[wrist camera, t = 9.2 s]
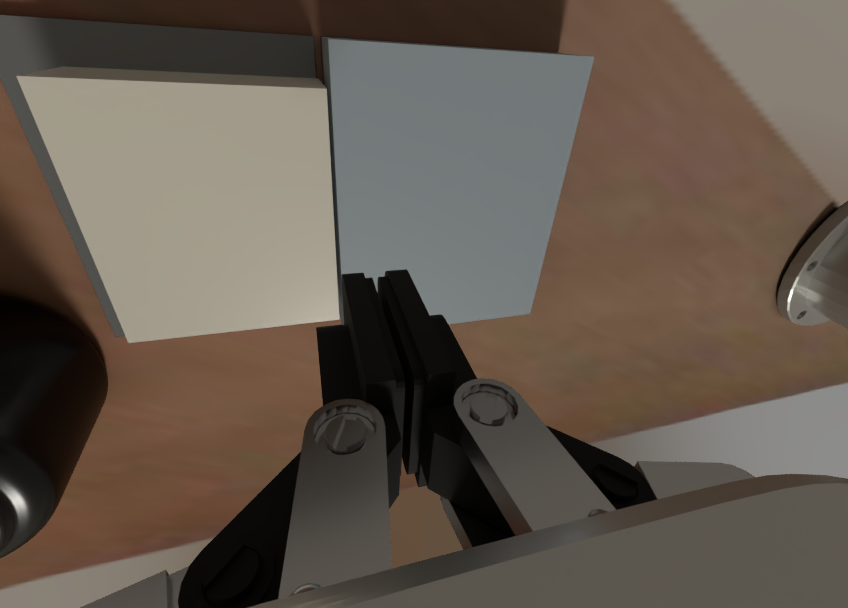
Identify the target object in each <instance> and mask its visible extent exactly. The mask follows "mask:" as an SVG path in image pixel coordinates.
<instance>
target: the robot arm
mask: <svg viewBox="0 0 848 608" xmlns="http://www.w3.org/2000/svg"><path fill="white" fill-rule="evenodd" d="M342 296H343V314H344V325H335V326H325V327H316V330H317V341H318V352H319V364H320V375H321V386H322V398H323V406H322V407H321V408H319V409H318V410H317V411H315V412H314V413H313V415H312V416H311V417H310V418H309V420H308V422H307V425H306V427H305V430H304V437H303V443H302V449H301V452H300V453H299V454H298V455H297V456H296V457H295V458H294V459H293V460H292V461H291V462H290V463H289V464H288V465H287V466H286V467H285V468H284V469H283V470H282V471H281V472H280V473H279V474H278V475H277V476H276V477H275V478H274V479H273V480H272V481H271V482H270V483H269V484H268V485H267V486H266V487H265V488H264V489H263V490H262V491H261V492H260V493H259V494H258V495H257V496H256V497H255V498H254V499H253V500H252V501H251V502H250V503H249V504H248V505H247V506H246V507H245V508H244V509H243V510H242V511H241V512H240V513H239V514H238V515H237V516H236V517H235V518H234V519H233V520H232V521H231V522H230V523H229V524H228V525H227V526H226V527H225V528H224V529H223V530H222V531H221V532H220V533H219V534H218V535H217V536H216V537H215V538H214V539H213V540H212V541H211V542H210V543H209V544H208V545H207V546H206V547H205V548H204V549H203V550H202V551H201V552H200V553H199V555H198V556H197V557H196V558H195V560H194V561H193V562H192V563H191V565H190V566H188V567H186V568H184V569H182V570H180V571H177V572H175V573H173V574H171V575H169V574H168V573H167V571H166V570H164V571H162V572H160V573H158V574H155V575H153V576H151V577H149V578H146V579H144V580H142V581H140V582H137V583H135V584H133V585H130V586H128V587H126V588H124V589H122V590H119V591H117V592H115V593H112V594H110V595H108V596H106V597H103V598H101V599H99V600H96V601H94V602H92V603H90V604H87V605H85V606H83V607H81V608H848V479H846V478H839V477H833V476H827V475H808V474H784V475H768V476H762V477H754V476H752V475H751V474H750V473H748V472H747V471H745V470H742V469H740V468H738V467H736V466H733V465H729V464H724V463H699V462H648V461H638V462H637V463H636V465H635V466H632V465H631V464H629V463H628V462H626V461H624V460H622V459H621V458H619V457H617V456H614V455H612V454H610V453H607V452H605V451H603V450H600V449H598V448H596V447H594V446H591V445H589V444H587V443H585V442H582V441H580V440H578V439H576V438H573V437H571V436H569V435H567V434H564V433H562V432H560V431H557V430H555V429H553V428H551V427H548V426H546V425H545V424H544V423H543V422H542V421H541V419H540V418H539V417H538V416H537V415H536V414H535V412H534V411H533V410H532V409H531V408H530V406H529V405H528V404H527V403H526V402H525V400H524V399H523V398H522V397H521V396H520V394H518V393H517V392H516V391H515V390H514V389H513V388H512V387H510V386H508V385H506V384H505V383H503V382H500V381H496V380H493V379H483V378H481V379H477V378H476V376H475V374H474V372H473V370H472V368H471V366H470V364H469V363H468V361H467V359H466V357H465V355H464V353H463V351H462V349H461V348H460V346H459V344H458V342H457V340H456V338H455V336H454V334H453V332H452V331H451V329H450V327H449V325H448V323H447V321H446V319H445V318H444V316H443V315H441V314H439V315H429V313H428V311H427V309H426V307H425V305H424V303H423V301H422V299H421V297H420V295H419V293H418V291H417V288H416V286H415V284H414V282H413V280H412V278H411V276H410V274H409V272H408V270H407V269H404V270H391V271H386V272H385V276H384V277H378V293H377V290H376V287H375V284H374V281H373V278H372V277H371V278H365V276H364V273H350V274H342ZM777 303H778V310H779V311H780V313H781V315H782V316H784V317H785V318H786V319H788V320H790V321H791V322H793V323H795V324H798V325H800V326H811V325H817V324H821V323H824V322H827V321H830V320H832V321H834V322H836V323H838V324H840V325H842V326H844V327H845V328H847V329H848V201H847V202H846V203H844V204H843V205H842V206H840V207H839V208H838V209H837V210H836V211H835V212H834V213H832V214H831V215H830V216H829V217H828V218H827V219H826V220H825V221H824V222H823V223H822V224H821V225H820V226H819V227H818V228H817V229H816V230H815V231H814V232H813V233H812V234H811V236H810V237H809V238H808V239H807V241H806V242H805V243H804V244H803V246H802V247H801V248H800V249H799V251H798V252H797V254H796V255H795V257H794V258H793V260H792V261H791V263H790V265H789V266H788V268H787V270H786V272H785V274H784V276H783V278H782V281H781V284H780V287H779V290H778V297H777ZM402 459H403V463H404V467H405V470H406V473H407V474H413V473H415V477H416V481H417V484H418V487H422V486H426V485H427V487H428V489H430V490H432V491H433V492H435V493H437V494H439V495H440V500H441V503H442V506H443V509H444V511H445V513H446V515H447V517H448V519H449V521H450V524H451V526H452V528H453V530H454V531H455V534H456V536H457V538H458V540H459V542H460V544H461V546H462V548H463V550H461V551H457V552H453V553H450V554H446V555H442V556H438V557H434V558H430V559H427V560H423V561H419V562H415V563H412V564H408V565H405V566H400V567H397V568H393V569H392V560H391V540H390V519H389V509H390V507H391V506H392V504H393V503H394V501H395V500H396V498H397V497H398V495H399V482H400V476H401V462H402Z"/></svg>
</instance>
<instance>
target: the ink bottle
mask: <svg viewBox="0 0 848 608" xmlns="http://www.w3.org/2000/svg"><path fill="white" fill-rule="evenodd" d="M107 390H108V377H107V372H106V368H105V365H104V363H103V360H102V358H101V356H100V355H99V353H98V351H97V350H96V348H95V347H94V346H93V344H92V343H91V342H90V341H89V340H88V339H87V337H86V336H85V335H84V334H83V333H81V332H80V331H79V330H78V329H77V328H76V327H74V326H73V325H72V324H71V323H69V322H68V321H66V320H65V319H63V318H62V317H60V316H58V315H56V314H55V313H53V312H51V311H49V310H47V309H44V308H42V307H40V306H37V305H34V304H32V303H29V302H26V301H23V300H19V299H16V298H12V297H8V296H4V295H0V558H2V557H4V556H6V555H8V554H10V553H11V552H13V551H15V550H16V549H18V548H20V547H21V546H23V545H24V544H25V543H27V542H28V541H29V540H31V539H32V538H33V537H34V536H35V535H36V534H37V533H38V532H39V531H40V530H41V529H42V528H43V527H44V526H45V525H46V523H47V522H48V521H49V519H50V518H51V516H52V515H53V513H54V512H55V510H56V508H57V506H58V504H59V502H60V500H61V498H62V495H63V493H64V491H65V489H66V487H67V484H68V482H69V480H70V478H71V475H72V473H73V471H74V469H75V467H76V464H77V462H78V460H79V458H80V455H81V453H82V451H83V449H84V447H85V444H86V442H87V440H88V438H89V436H90V433H91V431H92V429H93V427H94V424H95V422H96V420H97V418H98V416H99V413H100V411H101V409H102V407H103V404H104V402H105V399H106V395H107Z"/></svg>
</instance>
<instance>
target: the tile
mask: <svg viewBox="0 0 848 608" xmlns="http://www.w3.org/2000/svg"><path fill="white" fill-rule="evenodd" d="M16 77H17V79H18V81H19V84H20V86H21V89H22V91H23V93H24V96H25V98H26V100H27V103H28V105H29V108H30V110H31V112H32V115H33V117H34V119H35V122H36V124H37V127H38V129H39V131H40V134H41V136H42V139H43V141H44V143H45V146H46V148H47V150H48V153H49V155H50V158H51V160H52V162H53V165H54V167H55V169H56V172H57V174H58V177H59V179H60V181H61V184H62V186H63V189H64V191H65V193H66V196H67V198H68V200H69V203H70V205H71V208H72V210H73V212H74V215H75V217H76V219H77V222H78V224H79V227H80V229H81V231H82V234H83V236H84V239H85V241H86V243H87V246H88V248H89V250H90V253H91V255H92V258H93V260H94V262H95V265H96V267H97V269H98V272H99V274H100V277H101V279H102V281H103V284H104V286H105V289H106V291H107V293H108V296H109V298H110V300H111V303H112V305H113V308H114V310H115V312H116V315H117V317H118V319H119V322H120V324H121V327H122V329H123V331H124V334H125V336H126V339H127V341H128V343H134V342H143V341H151V340H160V339H169V338H178V337H187V336H196V335H205V334H214V333H223V332H232V331H241V330H249V329H258V328H267V327H276V326H285V325H294V324H303V323H312V322H321V321H330V320H339V302H338V284H337V266H336V247H335V229H334V211H333V193H332V175H331V157H330V139H329V121H328V103H327V88H326V87H325V86H324V85H323V83H322V82H321V81H320V79H317V78H296V77H275V76H254V75H233V74H212V73H191V72H170V71H149V70H129V69H108V68H87V67H66V66H62V67H57V68H53V69H48V70H43V71H38V72H33V73H28V74H23V75H18V76H16Z"/></svg>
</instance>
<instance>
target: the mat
mask: <svg viewBox="0 0 848 608" xmlns="http://www.w3.org/2000/svg"><path fill="white" fill-rule="evenodd" d="M62 66H66V67H87V68H108V69H129V70H149V71H170V72H191V73H212V74H233V75H254V76H275V77H296V78H316V66H315V53H314V39H313V36H303V35H289V34H274V33H260V32H245V31H230V30H216V29H201V28H187V27H172V26H158V25H143V24H128V23H114V22H99V21H85V20H70V19H55V18H41V17H26V16H12V15H0V79H1V81H2V83H3V85H4V88H5V90H6V92H7V94H8V97H9V99H10V101H11V103H12V105H13V108H14V110H15V112H16V114H17V117H18V119H19V121H20V123H21V126H22V128H23V130H24V132H25V135H26V137H27V139H28V141H29V144H30V146H31V148H32V150H33V153H34V155H35V157H36V159H37V162H38V164H39V166H40V168H41V170H42V173H43V175H44V177H45V179H46V182H47V184H48V186H49V188H50V191H51V193H52V195H53V197H54V200H55V202H56V204H57V206H58V209H59V211H60V213H61V215H62V218H63V220H64V222H65V224H66V226H67V229H68V231H69V233H70V235H71V238H72V240H73V242H74V244H75V247H76V249H77V251H78V253H79V256H80V258H81V260H82V262H83V265H84V267H85V269H86V271H87V274H88V276H89V278H90V280H91V283H92V285H93V287H94V289H95V291H96V294H97V296H98V298H99V300H100V303H101V305H102V307H103V309H104V312H105V314H106V316H107V318H108V321H109V323H110V325H111V327H112V330H113V332H114V334H115V336H116V337H120V336H125V334H124V331H123V329H122V327H121V324H120V322H119V319H118V317H117V315H116V312H115V310H114V308H113V305H112V303H111V300H110V298H109V296H108V293H107V291H106V289H105V286H104V284H103V281H102V279H101V277H100V274H99V272H98V269H97V267H96V265H95V262H94V260H93V258H92V255H91V253H90V250H89V248H88V246H87V243H86V241H85V239H84V236H83V234H82V231H81V229H80V227H79V224H78V222H77V219H76V217H75V215H74V212H73V210H72V208H71V205H70V203H69V200H68V198H67V196H66V193H65V191H64V189H63V186H62V184H61V181H60V179H59V177H58V174H57V172H56V169H55V167H54V165H53V162H52V160H51V158H50V155H49V153H48V150H47V148H46V146H45V143H44V141H43V139H42V136H41V134H40V131H39V129H38V127H37V124H36V122H35V119H34V117H33V115H32V112H31V110H30V108H29V105H28V103H27V100H26V98H25V96H24V93H23V91H22V89H21V86H20V84H19V81H18V79H17V77H16V76H18V75H23V74H28V73H33V72H38V71H43V70H48V69H53V68H57V67H62Z"/></svg>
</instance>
